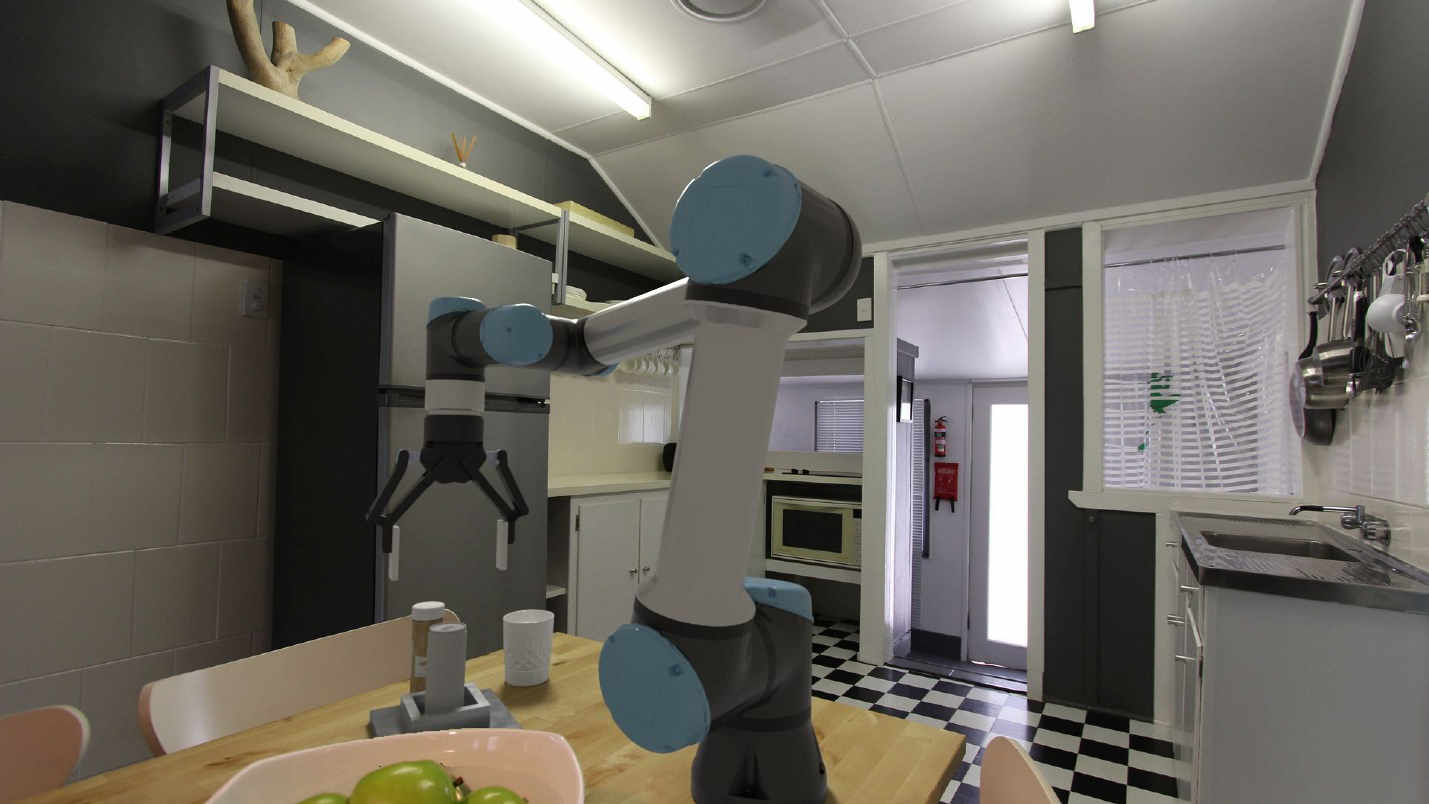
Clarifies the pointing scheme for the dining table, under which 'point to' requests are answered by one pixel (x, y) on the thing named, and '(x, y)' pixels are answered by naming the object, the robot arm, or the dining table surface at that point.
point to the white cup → (527, 646)
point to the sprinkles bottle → (422, 640)
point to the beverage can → (445, 667)
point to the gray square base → (442, 714)
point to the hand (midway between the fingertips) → (449, 573)
